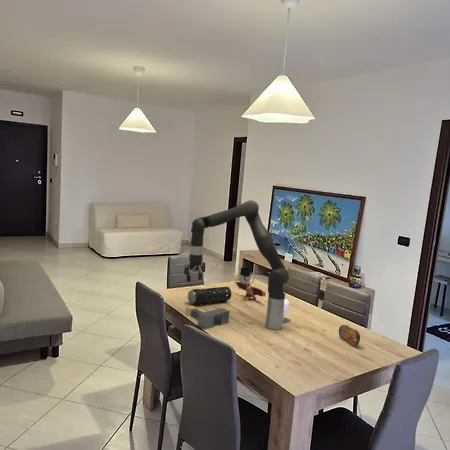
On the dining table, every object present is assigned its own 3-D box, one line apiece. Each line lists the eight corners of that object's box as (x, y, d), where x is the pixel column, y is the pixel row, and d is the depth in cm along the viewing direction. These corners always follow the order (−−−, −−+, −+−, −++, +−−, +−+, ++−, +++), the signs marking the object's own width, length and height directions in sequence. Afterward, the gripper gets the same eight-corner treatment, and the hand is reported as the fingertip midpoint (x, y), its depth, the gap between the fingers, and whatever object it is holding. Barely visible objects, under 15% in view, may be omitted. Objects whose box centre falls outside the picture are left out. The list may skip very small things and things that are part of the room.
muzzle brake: (231, 303, 269) (232, 288, 268) (193, 308, 254) (195, 291, 253) (223, 299, 277) (224, 284, 276) (186, 303, 262) (187, 287, 260)
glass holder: (244, 286, 315) (246, 266, 313) (257, 290, 305) (259, 271, 303) (235, 287, 310) (237, 267, 308) (248, 292, 299) (250, 272, 297)
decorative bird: (221, 292, 281) (229, 271, 284) (238, 298, 293) (246, 278, 296) (251, 303, 261) (260, 281, 263) (268, 310, 273) (276, 289, 275)
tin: (337, 337, 226) (339, 322, 225) (342, 336, 227) (344, 322, 226) (355, 348, 212) (357, 333, 211) (360, 348, 213) (362, 332, 212)
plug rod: (210, 321, 234) (210, 313, 233) (204, 322, 231) (204, 314, 230) (191, 312, 245) (192, 305, 244) (185, 314, 241) (186, 306, 241)
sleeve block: (228, 322, 233) (229, 311, 232) (204, 329, 220) (206, 316, 219) (220, 319, 237) (221, 308, 236) (197, 325, 224) (198, 313, 223)
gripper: (200, 251, 245) (198, 277, 246) (182, 253, 234) (180, 280, 236) (209, 253, 239) (207, 280, 241) (191, 255, 229) (189, 283, 231)
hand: (194, 280), depth 239 cm, fingers open, 8 cm apart
